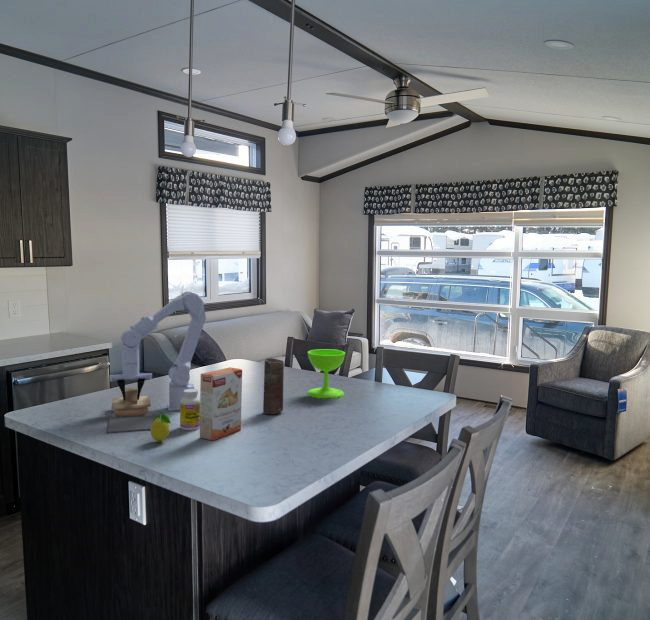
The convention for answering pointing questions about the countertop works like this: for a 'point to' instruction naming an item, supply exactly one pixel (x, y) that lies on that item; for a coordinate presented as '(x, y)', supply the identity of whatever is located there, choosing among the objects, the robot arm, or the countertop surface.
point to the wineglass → (326, 370)
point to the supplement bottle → (190, 410)
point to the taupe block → (131, 400)
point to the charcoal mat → (130, 423)
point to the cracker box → (220, 403)
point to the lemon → (160, 427)
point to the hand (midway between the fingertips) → (131, 399)
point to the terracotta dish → (131, 411)
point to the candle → (273, 386)
